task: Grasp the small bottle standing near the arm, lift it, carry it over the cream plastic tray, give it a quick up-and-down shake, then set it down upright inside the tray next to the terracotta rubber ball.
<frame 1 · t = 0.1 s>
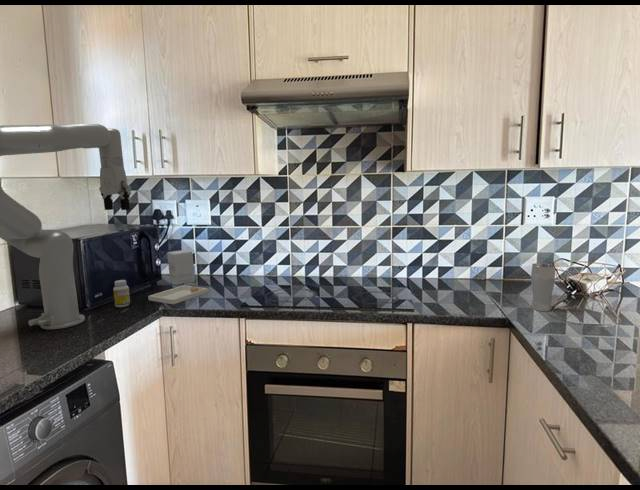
hand: (117, 209, 149), 37 cm above the worktop, tool pointing down, fingers open, 9 cm apart
beer glass: (541, 309, 134), on the worktop
ball: (194, 293, 163), point 1 cm above the worktop, touching tray
supplement box: (182, 283, 186), on the worktop
supplement bottle: (122, 305, 153), on the worktop
tray: (179, 298, 160), on the worktop
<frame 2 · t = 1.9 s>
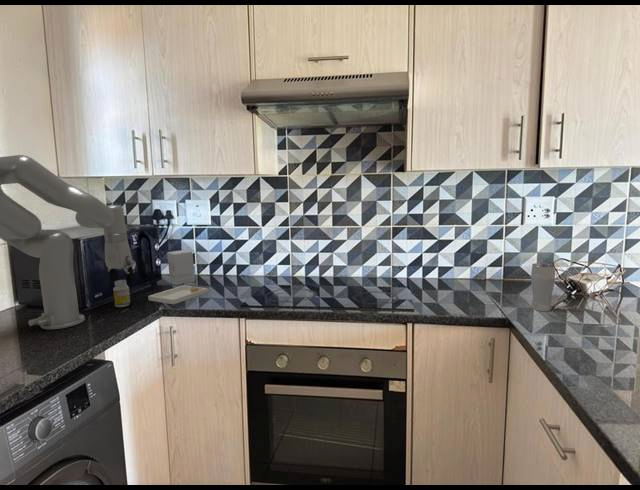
hand: (122, 282, 152), 9 cm above the worktop, tool pointing down, fingers open, 9 cm apart
nothing on the worktop moved.
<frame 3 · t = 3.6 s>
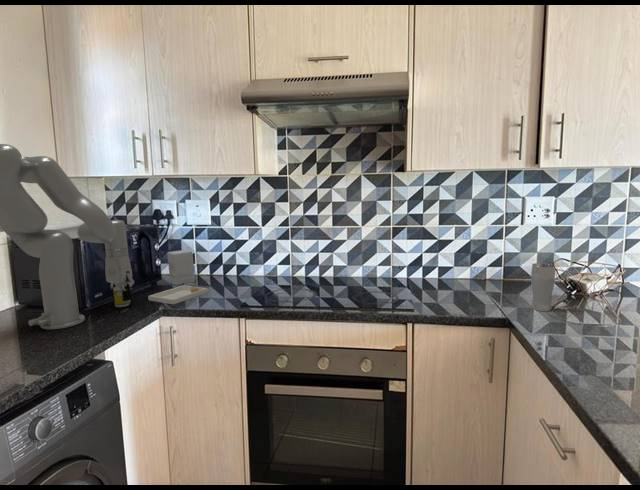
hand: (122, 298, 152), 2 cm above the worktop, tool pointing down, fingers closed on supplement bottle, 5 cm apart
supplement bottle: (122, 305, 153), on the worktop, touching gripper
everything else where it was.
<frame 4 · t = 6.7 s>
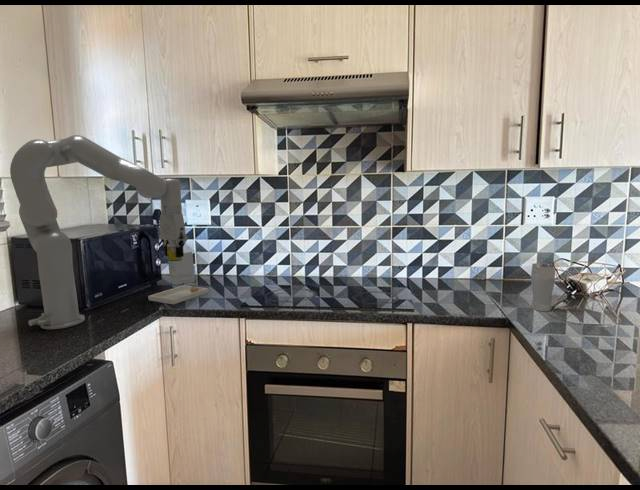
hand: (174, 255, 157), 17 cm above the worktop, tool pointing down, fingers closed on supplement bottle, 5 cm apart
supplement bottle: (175, 262, 158), point 15 cm above the worktop, touching gripper
everything else where it was.
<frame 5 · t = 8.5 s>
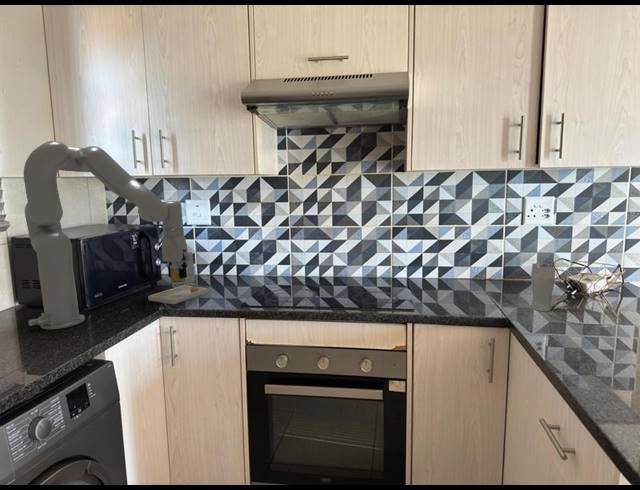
hand: (177, 276, 159), 9 cm above the worktop, tool pointing down, fingers closed on supplement bottle, 5 cm apart
supplement bottle: (178, 283, 160), point 6 cm above the worktop, touching gripper
everything else where it was.
when the fingers open (5 cm above the worktop, at t = 10.1 s): supplement bottle drops 2 cm, resting on tray.
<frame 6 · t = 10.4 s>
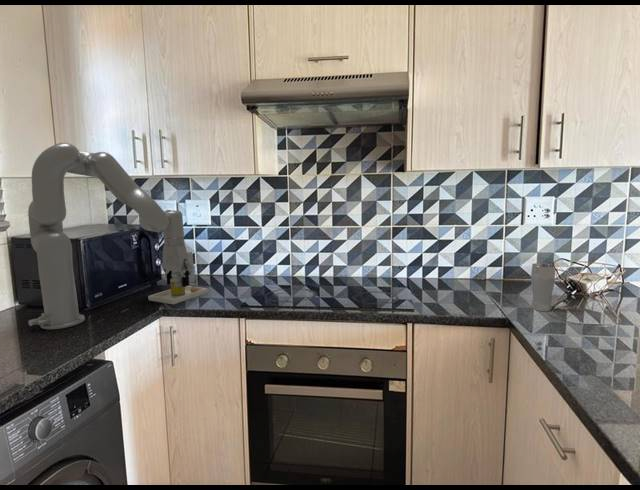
hand: (178, 284, 160), 5 cm above the worktop, tool pointing down, fingers open, 8 cm apart
supplement bottle: (178, 296, 160), point 1 cm above the worktop, touching tray
everything else where it was.
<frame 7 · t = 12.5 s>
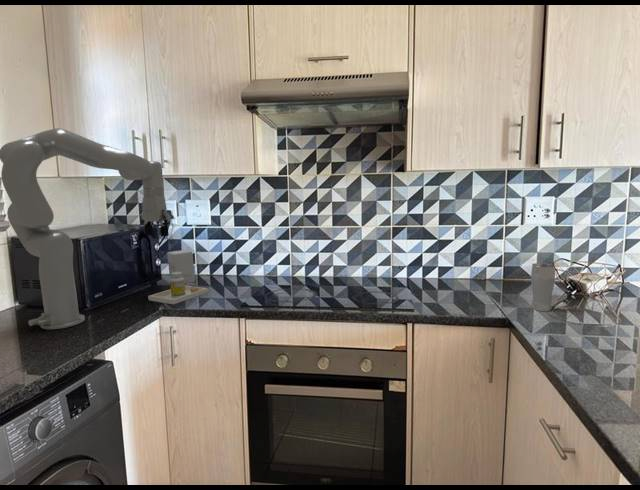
hand: (156, 235, 161), 25 cm above the worktop, tool pointing down, fingers open, 9 cm apart
nothing on the worktop moved.
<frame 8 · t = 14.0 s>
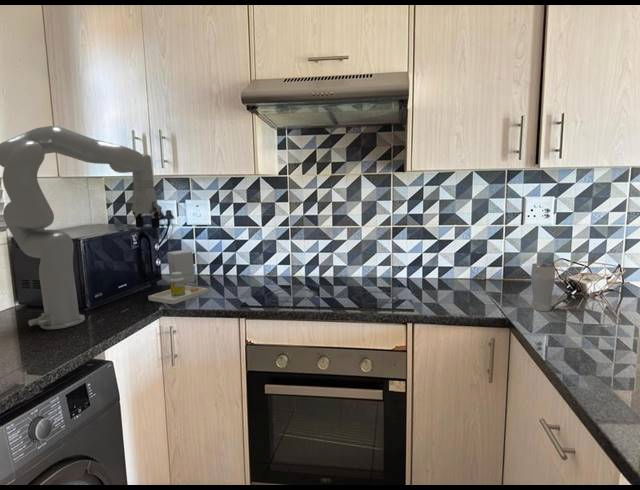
hand: (147, 227, 163), 28 cm above the worktop, tool pointing down, fingers open, 9 cm apart
nothing on the worktop moved.
at the end: supplement bottle inside the target area on the tray (0.2 cm from its centre), point 0.6 cm above the tray's base; supplement bottle tilted 0°; the gripper is holding nothing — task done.
